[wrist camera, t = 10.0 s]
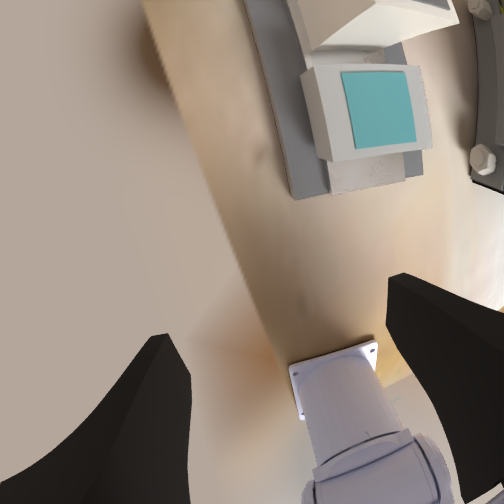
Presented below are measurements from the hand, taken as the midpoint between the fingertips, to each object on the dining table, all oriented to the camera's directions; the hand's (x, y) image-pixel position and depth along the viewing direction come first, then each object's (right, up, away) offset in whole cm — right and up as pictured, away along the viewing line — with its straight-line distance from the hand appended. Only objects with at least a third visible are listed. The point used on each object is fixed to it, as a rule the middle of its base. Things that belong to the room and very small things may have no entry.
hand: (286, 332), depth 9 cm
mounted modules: (+3, +15, +2) cm, 16 cm away
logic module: (+4, +15, +2) cm, 16 cm away
